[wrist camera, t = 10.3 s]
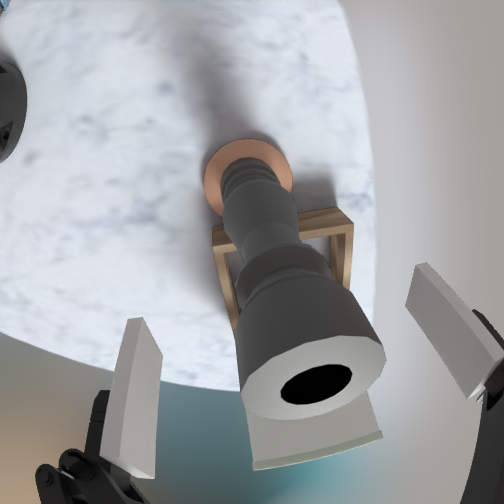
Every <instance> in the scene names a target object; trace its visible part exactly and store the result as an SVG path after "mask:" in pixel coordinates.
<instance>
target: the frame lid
mask: <svg viewBox="0 0 504 504" xmlns="http://www.w3.org/2000/svg"><path fill="white" fill-rule="evenodd" d="M245 408H246V407H245ZM246 415H247V421H248V428H249V435H250V441H251V448H252V453H253V460H254V462H252V465H253V470H262V469H268V468H275V467H281V466H286V465H291V464H297V463H301V462H306V461H310V460H314V459H319V458H323V457H326V456H330V455H334V454H337V453H341V452H344V451H347V450H351V449H354V448H357V447H360V446H363V445H366V444H369V443H372V442H374V441H377V440H380V439H382V438H383V435H382V432H381V430H379V428H378V424H377V421H376V418H375V415H374V412H373V408H372V405H371V402H370V399H369V396H368V393H367V391H365V392H364V393H363V394H361V395H360V396H358V397H357V398H355V399H354V400H352V401H351V402H349V403H348V404H346V405H344V406H341V407H339V408H337V409H334V410H332V411H330V412H327V413H325V414H321V415H317V416H313V417H308V418H304V419H292V420H276V419H271V418H266V417H262V416H258V415H256V414H255V413H253V412H252V411H250V410H249V409H247V408H246Z"/></svg>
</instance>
